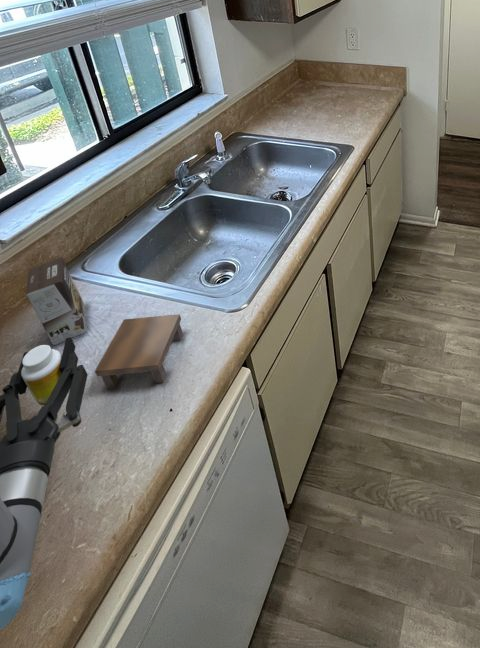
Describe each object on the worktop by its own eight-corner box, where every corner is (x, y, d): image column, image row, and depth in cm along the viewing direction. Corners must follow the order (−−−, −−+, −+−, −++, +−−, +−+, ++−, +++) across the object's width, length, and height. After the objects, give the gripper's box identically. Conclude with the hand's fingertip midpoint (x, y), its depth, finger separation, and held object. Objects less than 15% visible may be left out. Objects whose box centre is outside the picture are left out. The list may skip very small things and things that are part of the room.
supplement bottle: (80, 386, 81) (62, 350, 76) (45, 413, 76) (24, 376, 72) (65, 371, 83) (47, 335, 79) (30, 396, 79) (9, 360, 75)
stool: (103, 390, 88) (94, 371, 86) (131, 337, 99) (123, 319, 97) (165, 384, 89) (157, 365, 87) (185, 332, 100) (179, 314, 98)
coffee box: (86, 332, 101) (62, 281, 94) (52, 346, 97) (24, 295, 91) (86, 305, 108) (63, 255, 101) (54, 318, 104) (28, 267, 97)
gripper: (-58, 535, 60) (-5, 384, 79) (100, 464, 68) (114, 342, 86) (-85, 508, 57) (-23, 357, 76) (84, 436, 64) (102, 316, 83)
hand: (50, 349), depth 81 cm, fingers closed on supplement bottle, 6 cm apart
